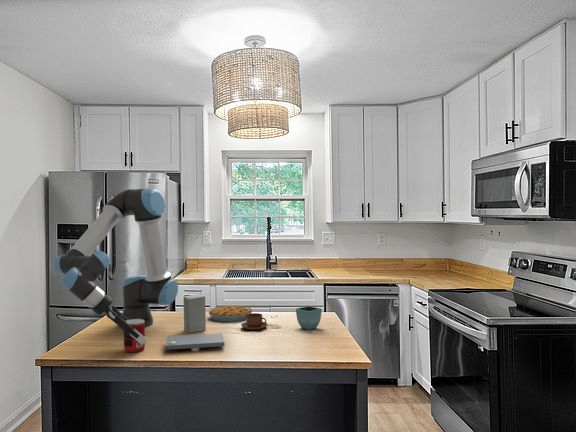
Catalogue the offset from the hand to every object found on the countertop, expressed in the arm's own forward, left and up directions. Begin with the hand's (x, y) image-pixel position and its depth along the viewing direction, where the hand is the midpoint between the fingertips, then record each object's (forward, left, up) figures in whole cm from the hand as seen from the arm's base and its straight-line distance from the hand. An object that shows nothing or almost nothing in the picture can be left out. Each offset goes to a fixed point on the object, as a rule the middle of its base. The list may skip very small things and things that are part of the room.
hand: (143, 339), depth 183 cm
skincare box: (-25, +20, -4) cm, 32 cm away
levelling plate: (+1, +20, -4) cm, 20 cm away
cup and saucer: (-24, +46, -4) cm, 53 cm away
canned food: (+1, -3, -4) cm, 5 cm away
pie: (-48, +38, -4) cm, 61 cm away
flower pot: (-18, +71, -4) cm, 73 cm away
